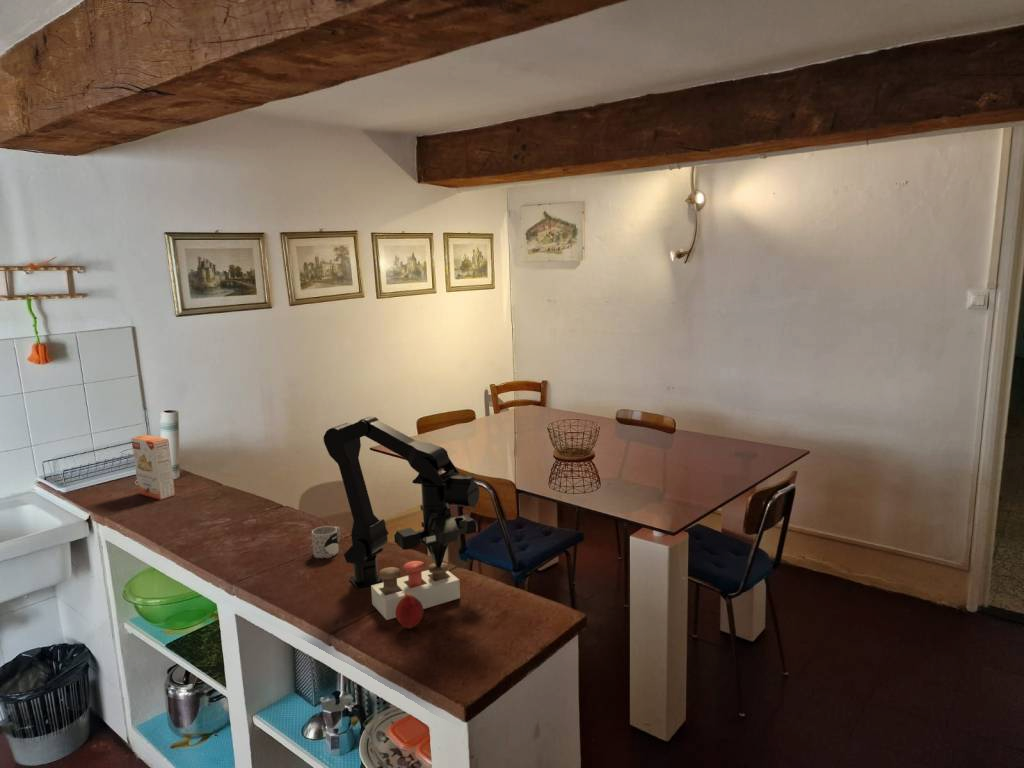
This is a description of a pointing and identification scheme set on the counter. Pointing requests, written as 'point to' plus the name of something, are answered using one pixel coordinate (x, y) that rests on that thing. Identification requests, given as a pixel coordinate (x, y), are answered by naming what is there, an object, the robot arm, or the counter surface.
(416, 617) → the onion
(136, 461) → the cracker box
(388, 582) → the walnut plunger near
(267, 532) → the counter surface
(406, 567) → the red plunger
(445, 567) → the walnut plunger far
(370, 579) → the robot arm
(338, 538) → the mug
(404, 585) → the jig
